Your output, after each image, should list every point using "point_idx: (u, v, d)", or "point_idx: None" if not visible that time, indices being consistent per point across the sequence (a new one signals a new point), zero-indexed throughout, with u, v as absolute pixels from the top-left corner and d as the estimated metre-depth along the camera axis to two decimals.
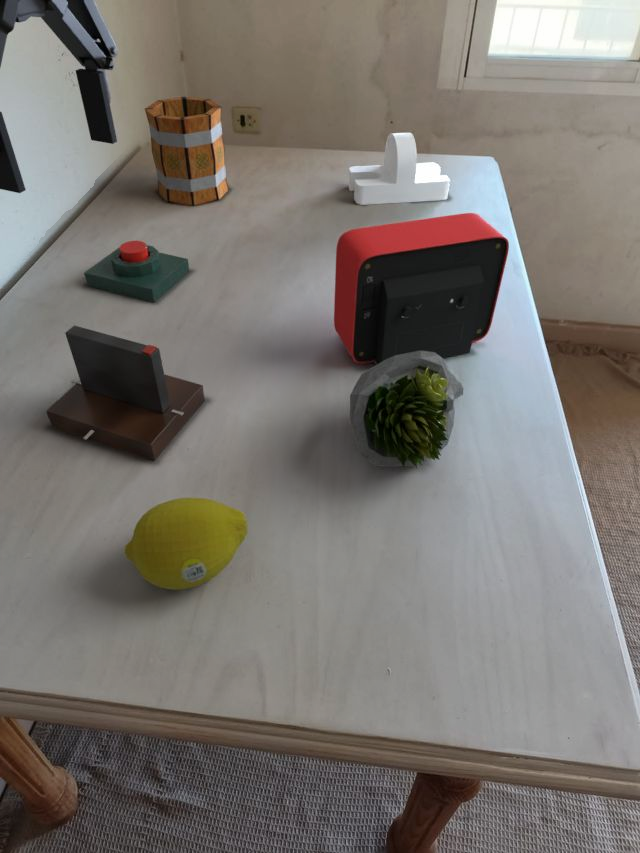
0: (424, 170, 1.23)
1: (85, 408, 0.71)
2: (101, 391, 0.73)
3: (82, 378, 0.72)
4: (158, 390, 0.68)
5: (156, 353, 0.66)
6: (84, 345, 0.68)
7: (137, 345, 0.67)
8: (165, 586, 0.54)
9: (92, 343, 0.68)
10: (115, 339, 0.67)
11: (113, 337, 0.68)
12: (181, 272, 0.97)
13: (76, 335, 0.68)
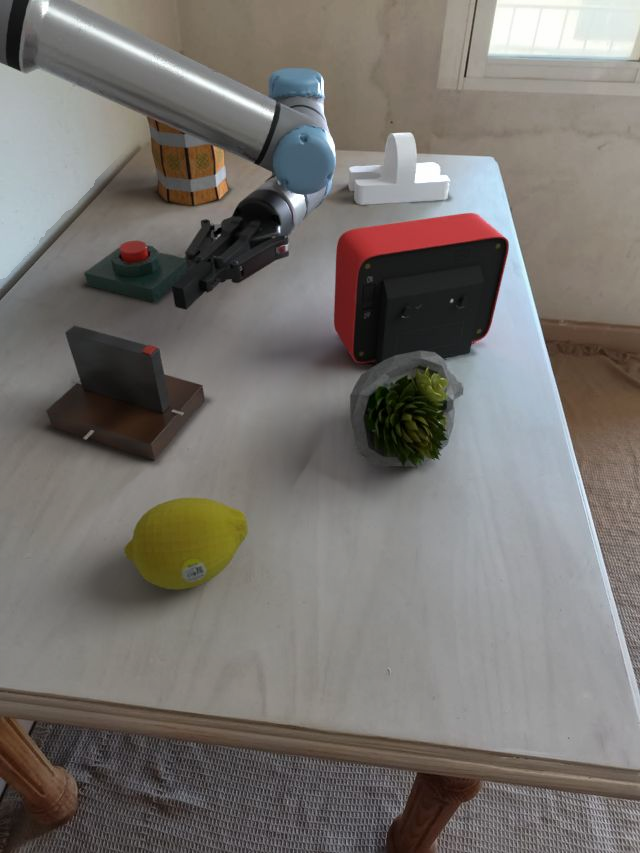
0: (424, 170, 1.23)
1: (85, 408, 0.71)
2: (101, 391, 0.73)
3: (82, 378, 0.72)
4: (158, 390, 0.68)
5: (156, 353, 0.66)
6: (84, 345, 0.68)
7: (137, 345, 0.67)
8: (165, 586, 0.54)
9: (92, 343, 0.68)
10: (115, 339, 0.67)
11: (113, 337, 0.68)
12: (181, 272, 0.97)
13: (76, 335, 0.68)
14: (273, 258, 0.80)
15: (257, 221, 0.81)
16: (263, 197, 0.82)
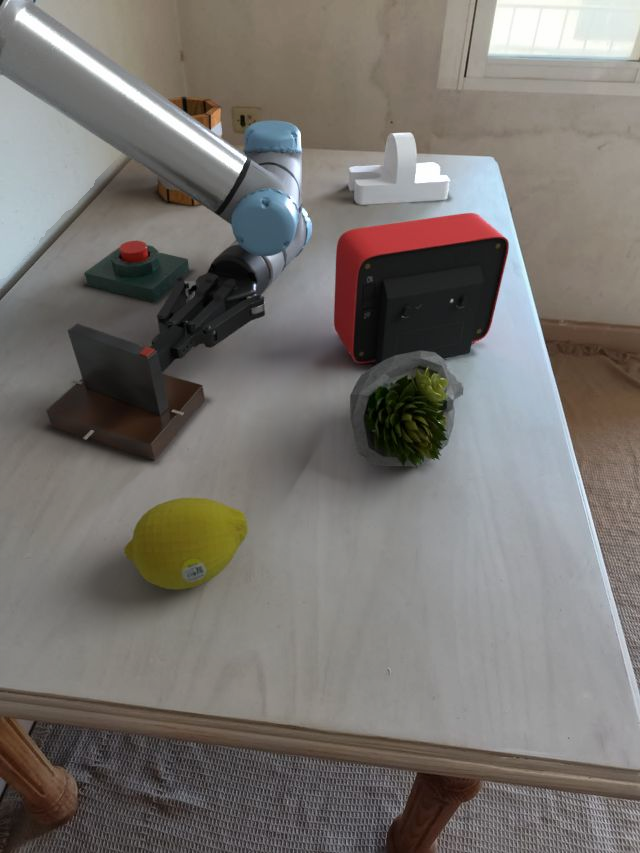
0: (424, 170, 1.23)
1: (85, 408, 0.71)
2: (102, 390, 0.73)
3: (84, 376, 0.73)
4: (155, 392, 0.68)
5: (153, 355, 0.66)
6: (85, 343, 0.68)
7: (136, 346, 0.66)
8: (165, 586, 0.54)
9: (92, 342, 0.68)
10: (115, 339, 0.67)
11: (113, 337, 0.68)
12: (181, 272, 0.97)
13: (78, 333, 0.68)
14: (248, 318, 0.78)
15: (232, 280, 0.79)
16: (239, 254, 0.80)
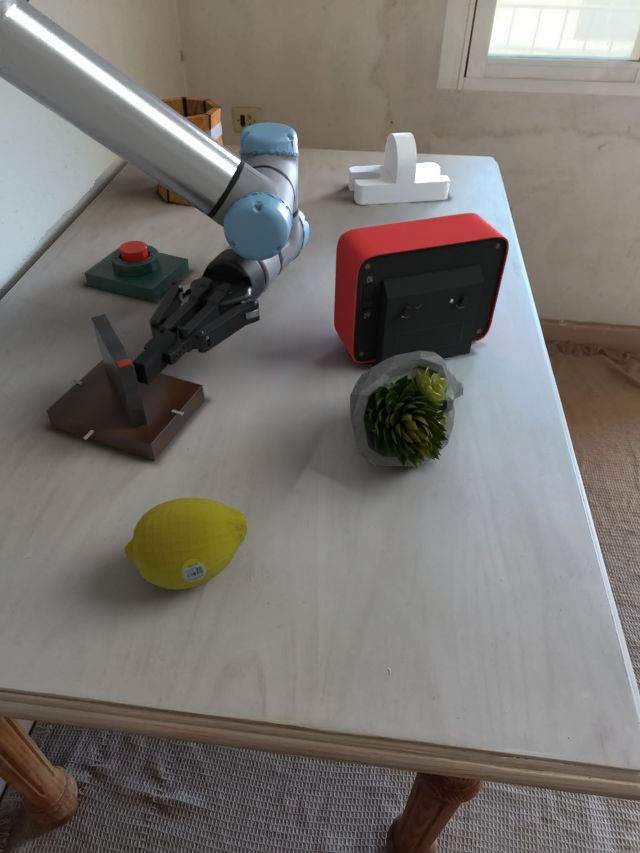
0: (424, 170, 1.23)
1: (85, 408, 0.71)
2: (111, 382, 0.74)
3: (104, 363, 0.74)
4: (127, 404, 0.67)
5: (128, 369, 0.64)
6: (98, 335, 0.70)
7: (122, 354, 0.65)
8: (165, 586, 0.54)
9: (99, 335, 0.69)
10: (115, 341, 0.67)
11: (115, 338, 0.68)
12: (181, 272, 0.97)
13: (94, 323, 0.70)
14: (242, 323, 0.77)
15: (227, 284, 0.78)
16: (233, 258, 0.79)
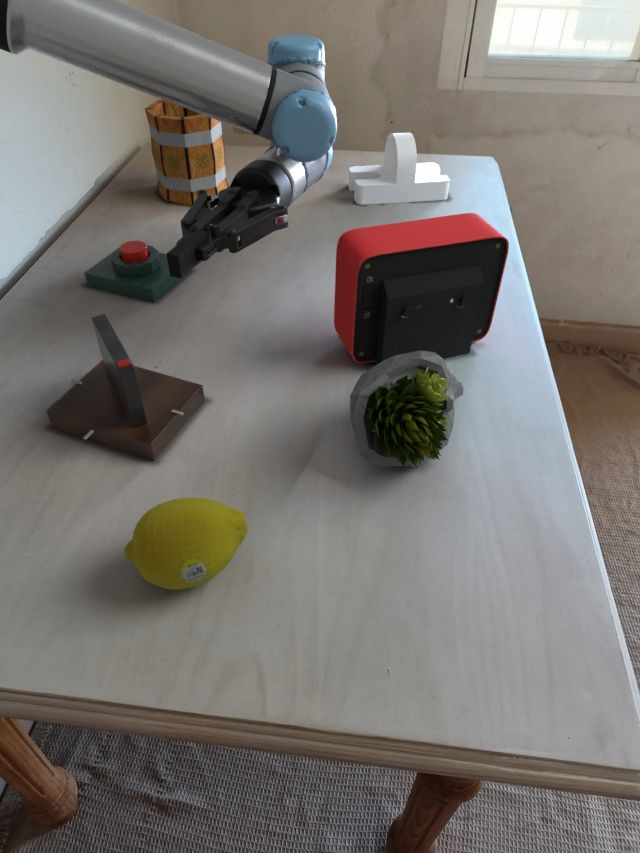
0: (424, 170, 1.23)
1: (85, 408, 0.71)
2: (111, 382, 0.74)
3: (104, 363, 0.74)
4: (127, 404, 0.67)
5: (128, 369, 0.64)
6: (98, 335, 0.70)
7: (122, 354, 0.65)
8: (165, 586, 0.54)
9: (99, 335, 0.69)
10: (115, 341, 0.67)
11: (115, 338, 0.68)
12: None
13: (94, 323, 0.70)
14: (271, 228, 0.77)
15: (255, 191, 0.79)
16: (262, 167, 0.80)
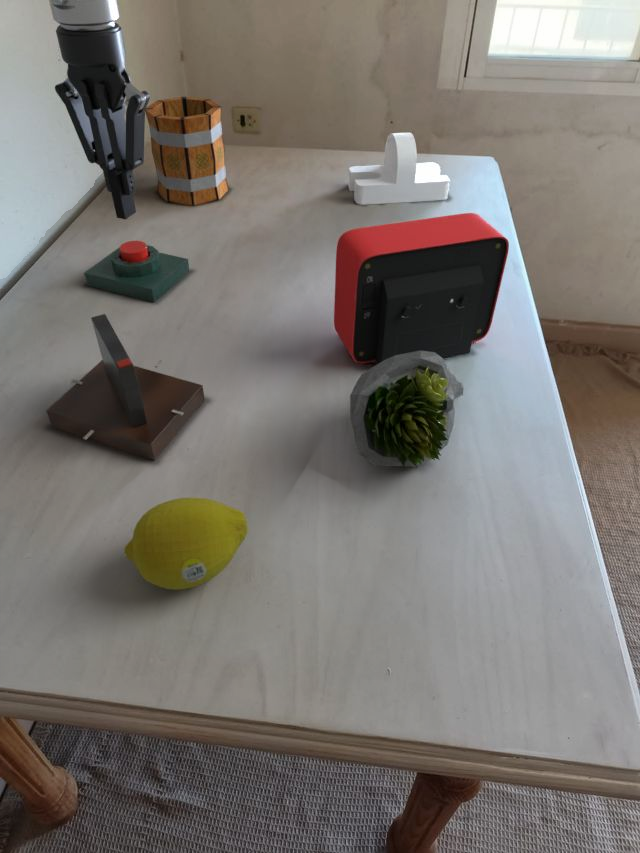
0: (424, 170, 1.23)
1: (85, 408, 0.71)
2: (111, 382, 0.74)
3: (104, 363, 0.74)
4: (127, 404, 0.67)
5: (128, 369, 0.64)
6: (98, 335, 0.70)
7: (122, 354, 0.65)
8: (165, 586, 0.54)
9: (99, 335, 0.69)
10: (115, 341, 0.67)
11: (115, 338, 0.68)
12: (181, 272, 0.97)
13: (94, 323, 0.70)
14: (142, 115, 0.80)
15: (98, 86, 0.77)
16: (78, 58, 0.74)
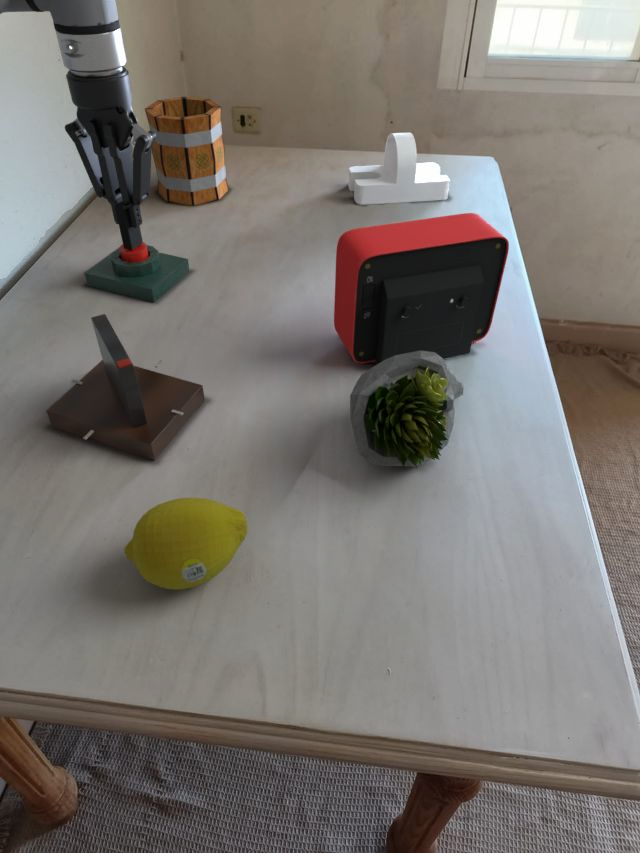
0: (424, 170, 1.23)
1: (85, 408, 0.71)
2: (111, 382, 0.74)
3: (104, 363, 0.74)
4: (127, 404, 0.67)
5: (128, 369, 0.64)
6: (98, 335, 0.70)
7: (122, 354, 0.65)
8: (165, 586, 0.54)
9: (99, 335, 0.69)
10: (115, 341, 0.67)
11: (115, 338, 0.68)
12: (181, 272, 0.97)
13: (94, 323, 0.70)
14: (149, 153, 0.83)
15: (107, 127, 0.80)
16: (87, 102, 0.77)
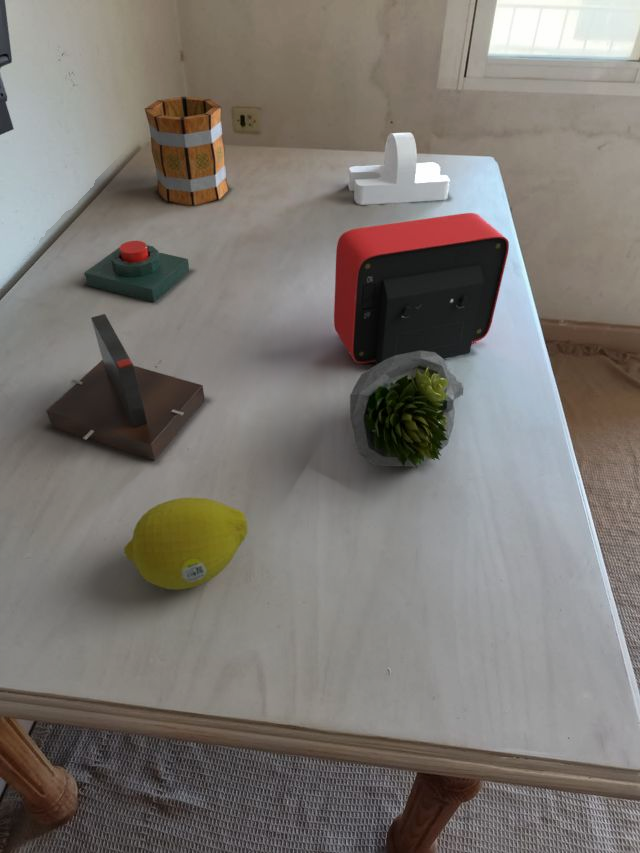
0: (424, 170, 1.23)
1: (85, 408, 0.71)
2: (111, 382, 0.74)
3: (104, 363, 0.74)
4: (127, 404, 0.67)
5: (128, 369, 0.64)
6: (98, 335, 0.70)
7: (122, 354, 0.65)
8: (165, 586, 0.54)
9: (99, 335, 0.69)
10: (115, 341, 0.67)
11: (115, 338, 0.68)
12: (181, 272, 0.97)
13: (94, 323, 0.70)
14: None
15: None
16: None
